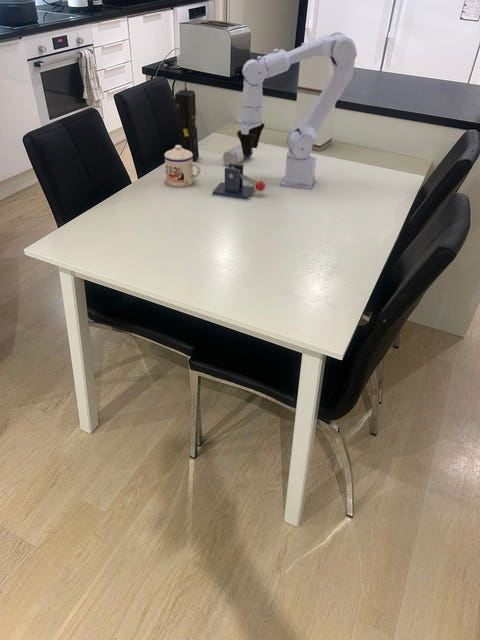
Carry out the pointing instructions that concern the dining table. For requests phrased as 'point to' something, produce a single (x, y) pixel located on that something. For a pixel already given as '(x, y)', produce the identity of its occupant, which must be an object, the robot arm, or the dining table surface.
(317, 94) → the tall banded cream box
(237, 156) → the energy drink
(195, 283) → the dining table surface
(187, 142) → the portable radio
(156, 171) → the dining table surface
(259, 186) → the lever
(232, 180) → the bracket
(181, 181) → the teacup with lid
